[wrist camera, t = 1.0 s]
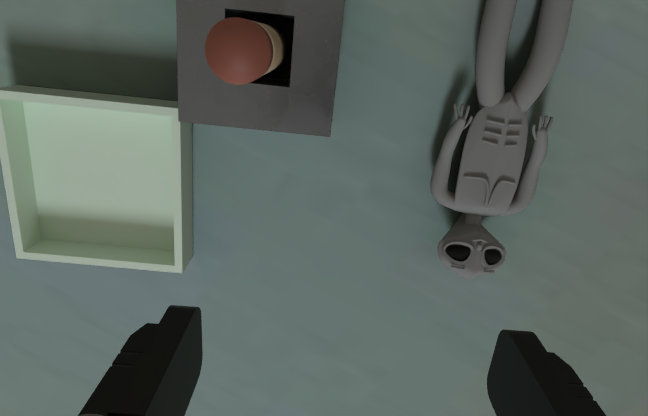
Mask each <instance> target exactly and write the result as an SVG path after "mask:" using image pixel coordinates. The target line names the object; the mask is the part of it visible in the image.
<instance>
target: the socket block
mask: <svg viewBox="0 0 648 416" xmlns="http://www.w3.org/2000/svg"><path fill="white" fill-rule="evenodd" d="M344 3H345V0H176V10H177V71H178V122H188V123H198V124H208V125H217V126H227V127H237V128H247V129H257V130H267V131H277V132H286V133H296V134H306V135H316V136H326V137H330V134H331V124H332V115H333V106H334V96H335V87H336V78H337V68H338V59H339V49H340V40H341V31H342V21H343V12H344ZM240 13H245V14H254V15H264V16H273V17H282V18H291V19H294V33H293V47H292V61H291V75H290V80H285V79H275V78H266V77H260V78H258V79H256V80H254V81H252V82H250V83H248V84H243V85H235V84H231V83H227V82H225V81H223V80H222V79H220V78H219V77H218V76H217V75H216V74H215V73H214V72H213V71H212V70H211V68H210V66H209V64H208V62H207V59H206V55H205V42H206V38H207V35H208V33H209V32H210V30H211V29H212V27H213V26H214V25H215V24H217V23H218V22H219V21H221V20H223V19H226V18H231V17H239V18H240Z"/></svg>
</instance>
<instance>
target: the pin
mask: <svg viewBox="0 0 648 416" xmlns="http://www.w3.org/2000/svg"><path fill="white" fill-rule="evenodd" d="M288 53H289V44H288V40H287V38H286V36H285V34H284V33H283V32H282V31H281V30H280V29H278V28H277V27H274V26H271V25H267V24H263V23H259V22H255V21H251V20H247V19H244V18H239V17H231V18H226V19H223V20H221V21H219V22H218V23H217V24H215V25H214V26H213V27H212V29H211V30H210V32H209V33H208V35H207V38H206V42H205V55H206V59H207V62H208V64H209V66H210V68H211V70H212V71H213V72H214V73H215V74H216V75H217V76H218V77H219V78H220V79H222V80H223V81H225V82H227V83H231V84H235V85H243V84H248V83H250V82H252V81H254V80H256V79H258V78H260V77H261V76H263V75H265V74H267V73H268V72H270V71H272V70H274V69H276V68H277V67H279V66H281V65H282V64H283V63H284V62H285V60H286V59H287V56H288Z"/></svg>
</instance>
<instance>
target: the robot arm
mask: <svg viewBox="0 0 648 416" xmlns="http://www.w3.org/2000/svg"><path fill="white" fill-rule="evenodd" d="M201 365H202V326H201V310H200V308H199V307H189V306H175V305H171V306H169V307H168V309H167V311H166V312H165V314H164V316H163V318H162V319H161V321H160V323H159V324H151V323H147V324H145V325H144V326H143V327H141V328H140V329H139V330H137V331H136V332H135V333H133V334H132V335H131V336H130V337H129V339H128V340H127V342H126V343H125V345H124V346H123V348H122V349H121V352H120V354H118V355H117V357H116V358H115V360H114V361H113V363H112V366H110V368H109V369H108V371H107V372H106V374H105V375H104V377H103V378H102V380H101V381H100V383H99V384H98V386H97V388H96V389H95V391H94V392H93V394H92V395H91V397H90V398H89V400H88V401H87V403H86V404H85V406H84V407H83V409H82V410H81V412H80V414H79V415H78V416H184V415H185V413H186V410H187V407H188V405H189V402H190V399H191V397H192V394H193V392H194V389H195V386H196V384H197V381H198V378H199V375H200V371H201ZM487 389H488V395H489V399H490V401H491V403H492V406H493V408H494V410H495V413H496V415H497V416H606V415H605V413H604V412H603V411H602V409H601V408H600V406H599V405H598V404H597V402H596V401H593V397H592V395H591V394H590V392H589V391H588V390H587V388H586V387H584V386H583V383H582V381H581V380H580V378H579V377H578V376H577V374H576V373H575V371H574V370H573V369H572V367H571V366H569V365H568V364H567V363H566V362H564V361H563V360H562V359H561V358H560V357H558V356H557V355H556V354H555V353H550V352H547V351H546V349H545V348H544V346H543V345H542V343H541V342H540V340H539V339H538V338H537V336H536V335H535V334H534V333H533V332H529V331H515V330H502V331H501V332H500V333H499V336H498V339H497V343H496V346H495V350H494V354H493V357H492V361H491V365H490V368H489V372H488V377H487Z"/></svg>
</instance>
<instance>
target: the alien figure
mask: <svg viewBox="0 0 648 416" xmlns="http://www.w3.org/2000/svg"><path fill="white" fill-rule="evenodd" d="M516 3H517V0H486V4H485V8H484V12H483V17H482V21H481V26H480V31H479V36H478V43H477V50H476V64H475V76H476V90H477V97H478V102H479V107H480V110H479V111H478V112H477V113H476V115H475V116H474V118H473V116H470V118H469V120H468V122H467V123H466V119H467V116H468V113H469V110H470V106H469V105H468V106H467V109H466V112H465V115H464V117H463V109H464V104H461V108H460V116H459V117H458V111H457V105H456V104H454V105H453V106H454V113H455V119H456V120H455V122H454V123H453V124H452V126H451V127H450V129H449V130H448V132H447V134H446V135H445V138H444V140H443V143H442V146H441V150H440V153H439V156H438V159H437V161H436V164H435V167H434V170H433V173H432V177H431V184H430V187H431V192H432V195H433V197H434V198H435V200H436V201H437V202H439V203H440V204H442V205H443V206H445V207H448V208H451V209H452V210H455V211H458V212H462V213H463V214H462V215H461V217H460V218H459V219H458V220H457V221H456V223H455V224H454V225H453V226H452V228H451V229H450V230H449V231H448V233H447V234H446V235H445V236H444V238H443V239H442V240H441V241H440V243H439V245H438V256H439V258H440V260H441V261H442V262H443V264H444V265H445V266H446V267H448V268H449V269H450V270H452V271H453V272H455V273H456V274H458V275H459V276H461V277H462V278H464V279H466V280H469V279H472V278H475V277H478V276H481V275H484V274H487V273H494V270H496V269H498V268H499V267H501V266H502V264H503V263H504V260H505V254H506V252H505V248H504V247H503V246H502V245H501V244H500V243H499V242H498V241H497V240H496V239H495V238H494V237H493V236H492V235H491V234H490V233H489V232H488V231H487V230H486V229H485V228H484V227H483V226H482V225H481V220H482V216H500V215H511V214H515V213H518V212H520V211H521V210H523V209H524V208H525V207H527V206H528V204H529V203H530V202H531V200H532V198H533V196H534V193H535V190H536V185H537V180H538V174H539V170H540V166H541V164H542V162H543V160H544V158H545V155H546V152H547V147H548V138H547V131H548V130H549V128H550V125H551V123H552V121H553V117H550V120H549V122H548V124H547V121H548V116H547V115H546V116H545V120H544V124H543V127H542V115H540V116H539V125H538V129H537V131H536V133H535V127H536V125H535V124H533V126H532V134H533V137H534V143H533V146H532V150H531V153H530V156H529V159H528V161H527V163H526V166H525V168H524V170H523V172H522V175H521V177H520V174H521V170H522V166H523V161H524V156H525V151H526V145H527V137H528V119H527V115H526V111H527V110H528V109H529V108H530V106H531V105H532V104H533V103H534V102H535V100H536V99H537V98H538V97H539V95H540V94H541V92H542V91H543V90H544V88H545V86H546V85H547V83H548V82H549V80H550V78H551V76H552V74H553V72H554V70H555V68H556V66H557V64H558V61H559V59H560V56H561V53H562V50H563V47H564V43H565V39H566V36H567V31H568V26H569V21H570V15H571V10H572V4H573V0H542V3H541V8H540V13H539V19H538V24H537V30H536V35H535V39H534V43H533V47H532V50H531V53H530V56H529V59H528V61H527V63H526V66H525V68H524V70H523V72H522V74H521V76H520V77H519V79H518V81H517V82H516V84H515V85H514V87H513V88H512V90H511V91H510V92H507V93H505V87H504V71H505V58H506V50H507V44H508V38H509V34H510V29H511V25H512V20H513V16H514V12H515V7H516ZM472 118H473V120H472ZM471 121H472V122H471ZM465 123H466V124H465ZM470 123H471V124H470ZM469 124H470V127H469V129H468V132H467V136H466V139H465V143H464V148H463V152H462V157H461V162H460V168H459V173H458V178H457V183H456V189H455V194H454V193H452V192H451V191H449V189H448V179H449V174H450V168H451V161H452V156H453V152H454V149H455V147H456V145H457V142H458V140H459V138H460V135H461V133H462V130H464V129H465V128H466V127H467V126H468V125H469ZM546 125H547V127H546ZM545 128H546V129H545ZM519 178H520V180H519ZM518 181H519V183H518ZM517 185H518V186H517ZM516 188H517V189H516ZM515 191H516V192H515Z"/></svg>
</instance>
